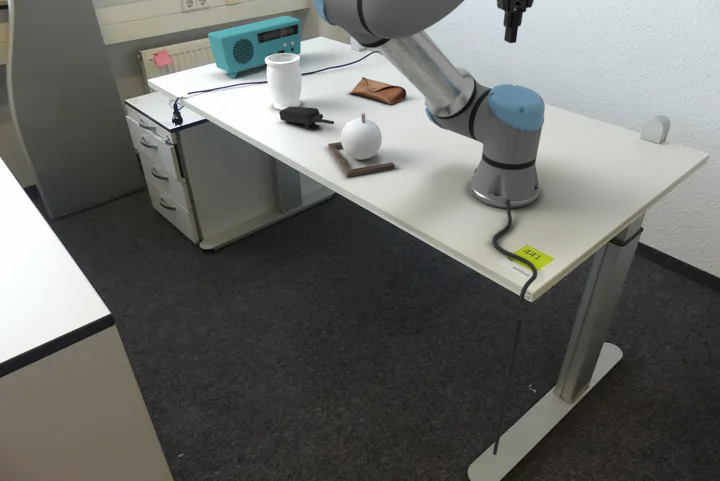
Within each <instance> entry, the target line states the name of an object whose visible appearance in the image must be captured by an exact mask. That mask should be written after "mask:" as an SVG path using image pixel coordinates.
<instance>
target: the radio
mask: <svg viewBox="0 0 720 481" xmlns="http://www.w3.org/2000/svg"><path fill="white" fill-rule="evenodd" d="M301 22H302V21H301V20H300V19H299V18H295V17H292V16H288V15H283V16H279V17H274V18H269V19H265V20H261V21H255V22H251V23H248V24H243V25H238V26H233V27H229V28H225V29H221V30H216V31H211V32H208V33H207V37H208V40H209V45H210V48H211V51H212V55H213V58H214V62H215V65H216V67H217V69H220V70H222V71H225V72H226V73H227V75H228V76H230V77H231V78H232V79H236V78H237V75H238V72H240V71H244V70H247V69H251V68H254V67H255V68H256V67H258V66H262V65H267V64H266V63H265V58H266V57H268V56H270V55H274V54H280V53H292V54H296V55H298V56H299V55H301V48H302V46H301V38H302V36H301V33H302V32H301V28H302V27H301Z"/></svg>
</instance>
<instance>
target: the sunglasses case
mask: <svg viewBox="0 0 720 481" xmlns="http://www.w3.org/2000/svg"><path fill="white" fill-rule="evenodd" d="M348 93H349V95H353V96H358V97H362V98H365V99H368V100H372V101H375V102H378V103H382V104H387V105H395V104H398V103H401V102H402V101H405V100H406V97H407V90H406V89H405V88H404V87H403V86H399V85H392V84H389V83H386V82H382V81H378V80H374V79H370V78H366V77H364V76H362V77H361V79H360V81H359V82H358V83H357V84H356V85H355V87H354V88H352V90H351V91H350V92H348Z"/></svg>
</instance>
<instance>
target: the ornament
mask: <svg viewBox="0 0 720 481" xmlns="http://www.w3.org/2000/svg"><path fill="white" fill-rule="evenodd" d="M382 141H383V136H382V131H381V129H380V127H379V126H378V124H377V123H376V122H375V121H373V120H371V119H370V118H366V113H365V112H362V113H361V117H357V118H354V119H352V120H350V121H348V122H347V123H346V124H345V125H344V126H343V128H342V130H341V135H340V142H341V143H342V146H343V148H342V149H343V150H344V152H345V153H346V155H348V156H349V157H351V158H352V159H354V160H363V161H364V160H368V159H370V158H372V157H374V156H376V155H377V154H378V152H379V151H380V148H381V146H382V143H383V142H382Z"/></svg>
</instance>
